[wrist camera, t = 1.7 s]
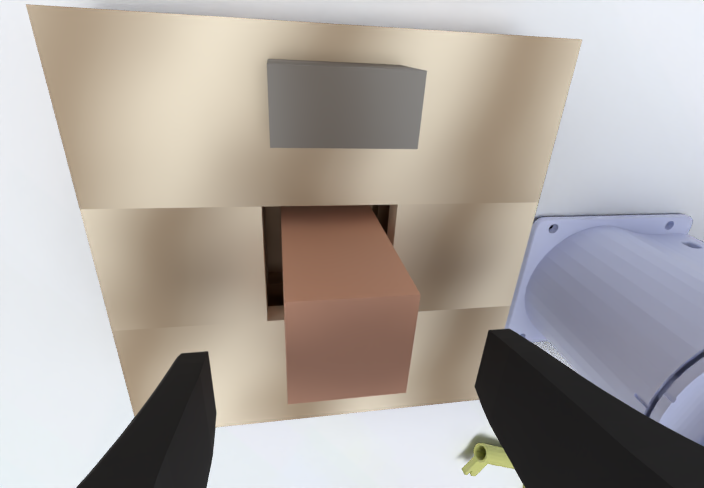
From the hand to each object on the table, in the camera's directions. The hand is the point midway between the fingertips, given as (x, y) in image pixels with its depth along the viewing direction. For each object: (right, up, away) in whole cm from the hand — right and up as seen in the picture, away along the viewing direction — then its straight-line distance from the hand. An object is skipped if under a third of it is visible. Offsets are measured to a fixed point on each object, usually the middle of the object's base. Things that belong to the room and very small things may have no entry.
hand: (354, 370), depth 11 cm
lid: (-1, +3, +6) cm, 6 cm away
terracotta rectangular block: (-2, +4, +8) cm, 9 cm away
